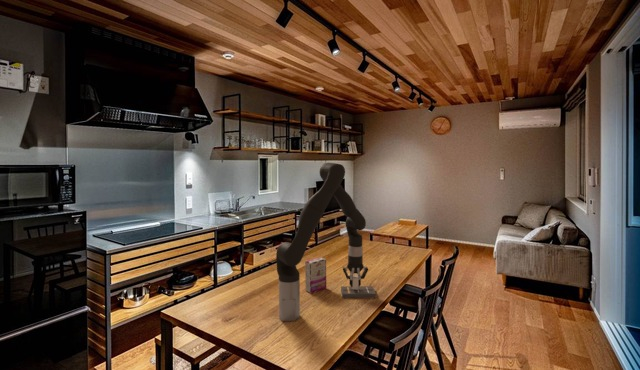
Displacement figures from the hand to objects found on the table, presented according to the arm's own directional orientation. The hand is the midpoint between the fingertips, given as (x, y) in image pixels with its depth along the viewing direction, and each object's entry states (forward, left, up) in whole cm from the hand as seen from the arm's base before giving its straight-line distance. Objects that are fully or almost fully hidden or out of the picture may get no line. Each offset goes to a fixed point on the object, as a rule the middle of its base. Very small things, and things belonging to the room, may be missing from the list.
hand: (355, 286), depth 173 cm
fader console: (0, -1, -4) cm, 4 cm away
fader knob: (0, 0, -2) cm, 2 cm away
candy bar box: (+6, +21, -4) cm, 22 cm away
